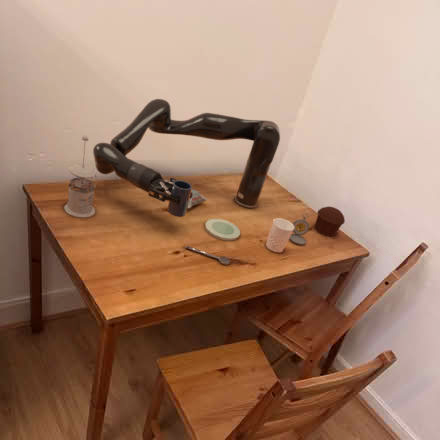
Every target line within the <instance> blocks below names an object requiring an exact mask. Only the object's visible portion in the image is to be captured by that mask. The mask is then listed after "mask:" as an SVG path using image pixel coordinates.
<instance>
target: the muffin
mask: <svg viewBox="0 0 440 440" xmlns="http://www.w3.org/2000/svg"><path fill="white" fill-rule="evenodd" d="M344 224H345V215H344V214H343V212H342V211H341V210H340V209H338V208H336V207H333V206H325V207H324V206H323V207H321V208H319V209H318V211H317V217H316V221H315V225H314V229H315V230H316V231H317V232H318V233H319V234H321V235H323V236H325V237H333V236H335V235H336V233H338V231H339V230H340V228H341V226H342V225H344Z"/></svg>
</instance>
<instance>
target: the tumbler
mask: <svg viewBox="0 0 440 440" xmlns="http://www.w3.org/2000/svg"><path fill="white" fill-rule="evenodd" d="M192 189H193V185H192V184H191V183H189V182H188V181H186V180H182V179H176V181H174V182H173V185H172V190H171V194H174V195H176V196H178V197H180V198H181V199H182V202H181V204H180V205H178V204H176V203H174V202H172V201H168V205H167V213H168V214H170V215H171V216H173V217H176V218H177V217H178V218H182V217H185V216H186V214H187V210H188V208H187V207H188V203H189V199H190V195H191V190H192Z"/></svg>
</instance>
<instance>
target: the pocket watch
mask: <svg viewBox="0 0 440 440" xmlns="http://www.w3.org/2000/svg"><path fill="white" fill-rule="evenodd" d="M301 217H302V218H298V219H296V220H295V221H293V223H292V224H293V225H294V230H293V232H292V234H291V236H290V238H289V241H291V242H292V243H294V244H295V245H300V246H303V245H305V244H306V242H307V240H306V238H305V237H303V236H304V235H305V234H307V233H308V232H309V230H310V223H309V222H308V221H307V219H309V215H308V213H302V214H301Z"/></svg>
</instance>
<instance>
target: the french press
mask: <svg viewBox="0 0 440 440" xmlns="http://www.w3.org/2000/svg"><path fill="white" fill-rule="evenodd" d="M81 140H82V141H84V143H83V144H84V146H83V155H85V153H86V142H89V136H87V135H82V137H81ZM82 158H83V159H82V164H81V163H79V164H75V165H71V166H70V167H69V170H68V171H69V172H70V174H71V175H73V176H74V177H73V178H71V179H70V180H69V184H68V194H67V203H66V204H65V205H64V208H63V209H64V211H65V213H67V214H68V215H70V216H74V217H76V218H90V217H92V216H94V214H96V209H95V208H94V206H93V204H94V196H95V195H94V193H95V188H96V185H97V170H95V169H94V168H92V167H90V166H89V165H86V164H85V156H83V157H82ZM94 177H95V182H93V178H94ZM90 179H91V180H90Z"/></svg>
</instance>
